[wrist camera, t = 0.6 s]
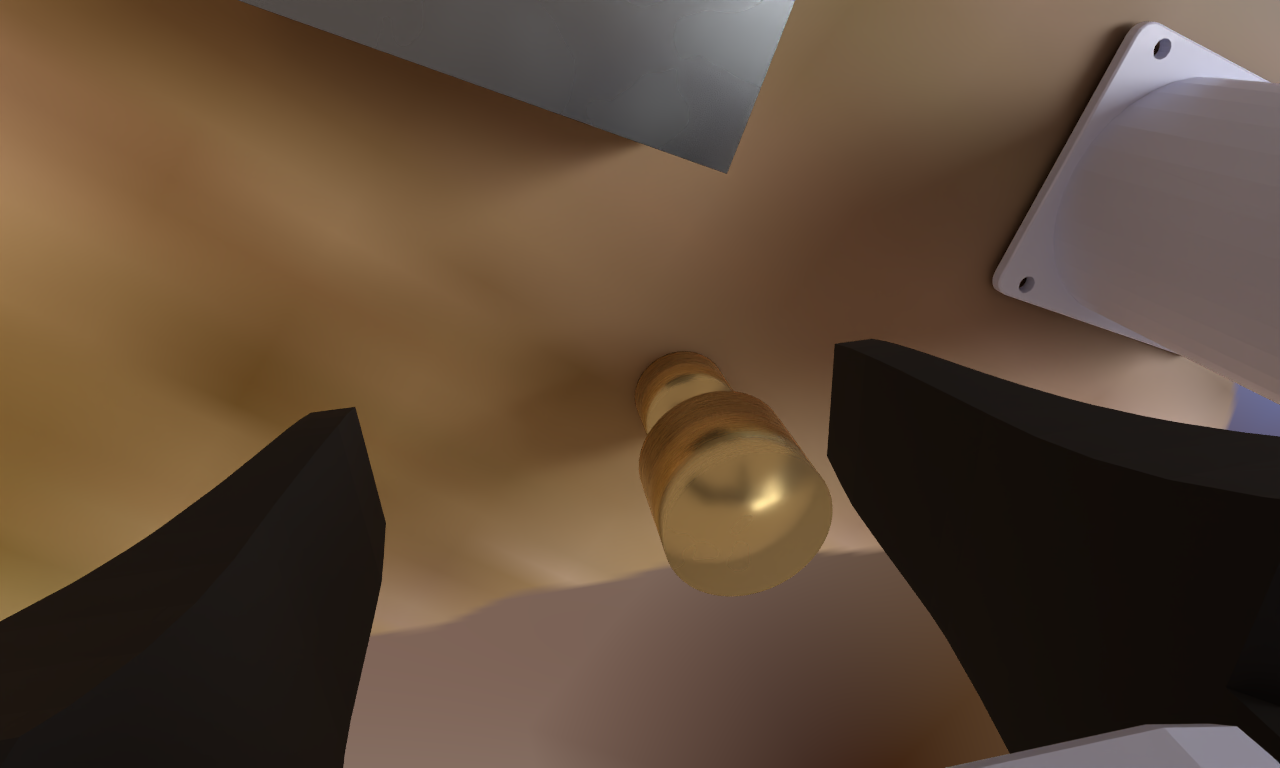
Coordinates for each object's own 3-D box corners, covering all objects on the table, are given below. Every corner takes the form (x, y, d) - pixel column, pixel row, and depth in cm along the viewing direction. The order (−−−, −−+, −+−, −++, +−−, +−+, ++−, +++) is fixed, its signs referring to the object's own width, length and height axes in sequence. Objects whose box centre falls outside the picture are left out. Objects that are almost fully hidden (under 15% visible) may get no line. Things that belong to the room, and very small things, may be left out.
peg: (762, 351, 23) (861, 473, 17) (713, 459, 24) (789, 606, 19) (641, 317, 22) (703, 436, 16) (597, 434, 23) (639, 583, 17)
